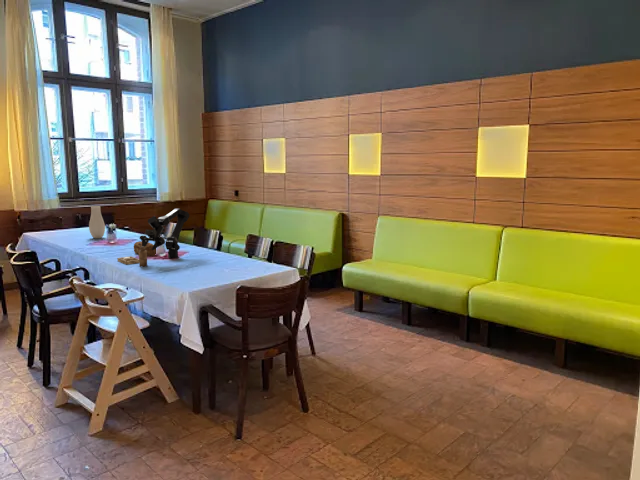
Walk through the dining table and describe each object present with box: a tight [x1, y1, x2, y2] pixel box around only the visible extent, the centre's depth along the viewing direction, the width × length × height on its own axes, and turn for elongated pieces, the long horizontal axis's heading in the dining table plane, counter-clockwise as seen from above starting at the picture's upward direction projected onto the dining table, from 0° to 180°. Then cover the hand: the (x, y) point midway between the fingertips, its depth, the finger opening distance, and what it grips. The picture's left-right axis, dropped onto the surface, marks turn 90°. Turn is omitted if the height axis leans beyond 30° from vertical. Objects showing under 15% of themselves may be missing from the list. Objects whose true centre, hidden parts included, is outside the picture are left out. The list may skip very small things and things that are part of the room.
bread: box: [133, 240, 156, 257], centre depth 381 cm, size 19×11×10 cm, turn 46°
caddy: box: [117, 255, 139, 266], centre depth 351 cm, size 10×16×3 cm, turn 43°
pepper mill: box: [138, 246, 148, 268], centre depth 339 cm, size 5×5×14 cm
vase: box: [88, 205, 106, 239], centre depth 457 cm, size 14×14×30 cm
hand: (147, 249), depth 343 cm, fingers open, 9 cm apart
